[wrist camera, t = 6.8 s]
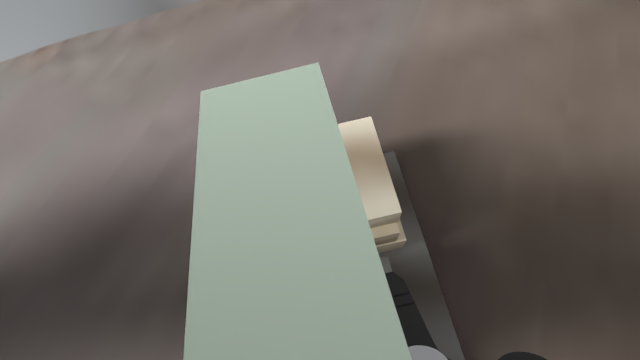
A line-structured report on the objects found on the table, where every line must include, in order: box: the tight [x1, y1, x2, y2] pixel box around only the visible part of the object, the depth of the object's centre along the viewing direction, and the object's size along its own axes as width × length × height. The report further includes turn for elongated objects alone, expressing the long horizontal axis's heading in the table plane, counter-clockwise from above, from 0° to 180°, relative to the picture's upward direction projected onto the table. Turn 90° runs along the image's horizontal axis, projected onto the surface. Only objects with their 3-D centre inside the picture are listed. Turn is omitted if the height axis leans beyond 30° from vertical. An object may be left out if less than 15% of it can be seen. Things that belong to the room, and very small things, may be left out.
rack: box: [338, 116, 465, 360], centre depth 20 cm, size 18×12×7 cm, turn 12°
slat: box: [183, 63, 412, 360], centre depth 11 cm, size 5×2×18 cm, turn 13°
